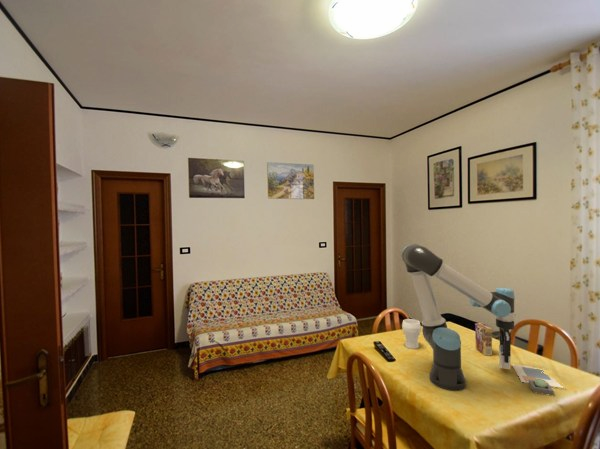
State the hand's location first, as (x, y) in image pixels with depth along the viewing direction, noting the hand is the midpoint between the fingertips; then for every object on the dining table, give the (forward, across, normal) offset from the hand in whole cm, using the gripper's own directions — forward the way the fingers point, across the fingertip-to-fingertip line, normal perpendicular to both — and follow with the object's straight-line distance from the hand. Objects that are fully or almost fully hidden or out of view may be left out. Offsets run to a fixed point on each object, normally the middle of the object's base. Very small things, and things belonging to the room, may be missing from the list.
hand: (504, 366), depth 146 cm
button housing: (+2, -14, -11) cm, 18 cm away
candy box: (+3, +20, +6) cm, 21 cm away
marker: (0, 0, 0) cm, 0 cm away
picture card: (+2, -1, -13) cm, 13 cm away
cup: (+3, +14, +44) cm, 47 cm away
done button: (+1, -14, -11) cm, 17 cm away
